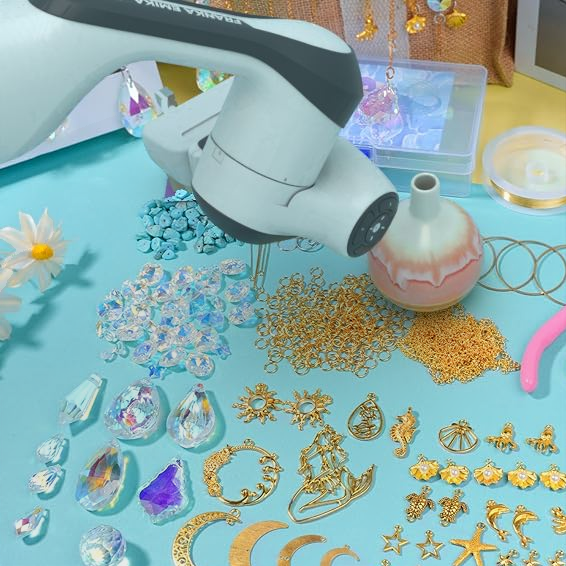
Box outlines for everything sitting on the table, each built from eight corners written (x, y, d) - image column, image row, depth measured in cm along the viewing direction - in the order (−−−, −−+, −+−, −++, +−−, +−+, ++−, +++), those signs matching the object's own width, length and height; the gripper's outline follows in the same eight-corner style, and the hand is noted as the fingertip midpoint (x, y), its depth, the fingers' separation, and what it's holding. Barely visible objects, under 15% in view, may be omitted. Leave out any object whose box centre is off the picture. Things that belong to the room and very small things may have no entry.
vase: (363, 329, 98) (353, 228, 84) (374, 241, 106) (366, 135, 91) (480, 334, 96) (490, 232, 82) (482, 245, 104) (492, 137, 89)
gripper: (353, 65, 82) (273, 6, 89) (180, 165, 76) (107, 93, 83) (358, 115, 87) (281, 56, 94) (195, 212, 81) (126, 141, 88)
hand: (198, 74), depth 88 cm, fingers open, 8 cm apart
